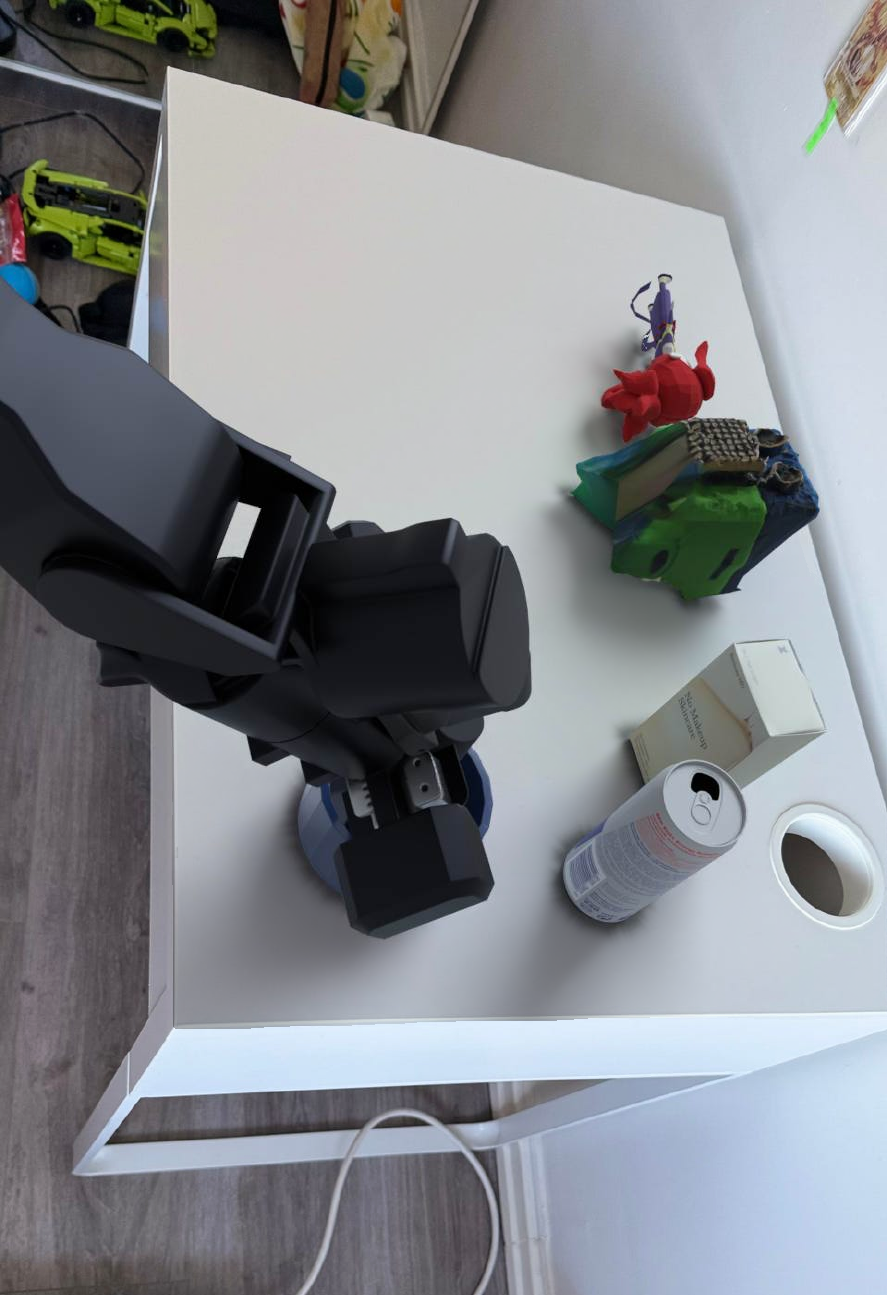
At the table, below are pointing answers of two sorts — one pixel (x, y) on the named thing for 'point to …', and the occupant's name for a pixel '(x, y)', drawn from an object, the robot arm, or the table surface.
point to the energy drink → (656, 840)
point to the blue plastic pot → (330, 827)
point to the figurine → (660, 375)
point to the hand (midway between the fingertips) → (447, 764)
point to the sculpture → (698, 502)
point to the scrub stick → (459, 736)
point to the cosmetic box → (735, 714)
